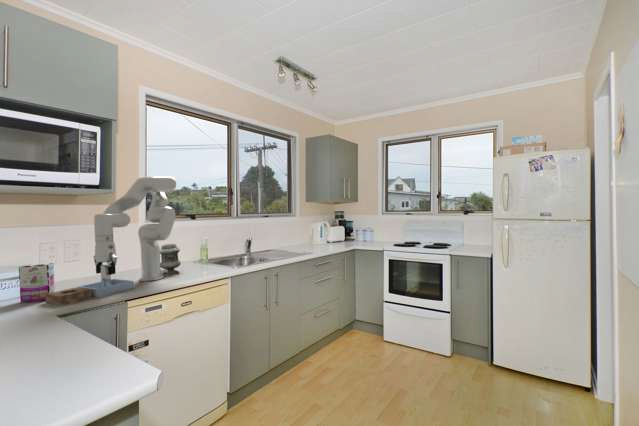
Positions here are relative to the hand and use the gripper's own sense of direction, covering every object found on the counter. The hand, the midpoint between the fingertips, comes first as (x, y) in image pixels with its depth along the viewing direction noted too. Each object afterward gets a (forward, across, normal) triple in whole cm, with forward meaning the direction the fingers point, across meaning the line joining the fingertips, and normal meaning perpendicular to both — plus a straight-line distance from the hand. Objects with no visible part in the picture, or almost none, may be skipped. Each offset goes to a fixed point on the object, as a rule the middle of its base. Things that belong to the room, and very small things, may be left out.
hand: (105, 273), depth 157 cm
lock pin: (+8, 0, 0) cm, 8 cm away
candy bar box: (+9, +15, +21) cm, 27 cm away
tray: (+9, 0, 0) cm, 9 cm away
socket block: (+9, 0, +16) cm, 18 cm away
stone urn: (+9, +9, -44) cm, 46 cm away
